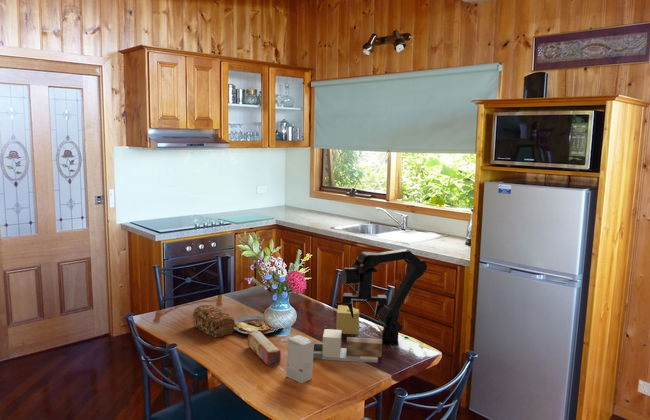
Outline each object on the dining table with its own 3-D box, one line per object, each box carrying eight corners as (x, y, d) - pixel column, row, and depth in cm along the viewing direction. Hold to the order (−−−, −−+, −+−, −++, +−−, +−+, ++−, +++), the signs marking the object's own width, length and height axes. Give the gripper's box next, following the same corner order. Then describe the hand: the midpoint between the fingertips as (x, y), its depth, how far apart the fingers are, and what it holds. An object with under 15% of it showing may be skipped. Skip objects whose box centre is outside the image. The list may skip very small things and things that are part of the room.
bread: (192, 327, 244) (192, 305, 242) (212, 321, 251) (212, 301, 250) (214, 339, 231) (214, 317, 229) (235, 333, 238) (235, 311, 236)
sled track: (377, 352, 222) (378, 331, 221) (377, 362, 212) (378, 340, 211) (312, 348, 224) (313, 327, 222) (310, 358, 214) (311, 337, 213)
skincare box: (285, 376, 198) (286, 338, 195) (296, 371, 202) (297, 333, 200) (302, 384, 192) (303, 344, 190) (313, 378, 197) (314, 339, 195)
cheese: (359, 326, 250) (360, 306, 249) (358, 335, 240) (359, 314, 238) (336, 325, 251) (337, 304, 250) (335, 334, 241) (335, 312, 239)
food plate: (294, 329, 245) (294, 321, 244) (253, 342, 228) (253, 334, 228) (260, 316, 262) (260, 309, 262) (220, 327, 246) (219, 320, 245)
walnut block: (381, 351, 219) (381, 338, 218) (381, 356, 214) (382, 343, 213) (346, 349, 220) (347, 336, 219) (346, 354, 215) (346, 341, 214)
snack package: (282, 364, 208) (282, 348, 207) (266, 367, 205) (266, 351, 204) (261, 344, 227) (261, 329, 226) (246, 347, 223) (246, 331, 222)
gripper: (387, 278, 232) (385, 313, 234) (343, 276, 233) (342, 311, 235) (388, 285, 221) (386, 322, 223) (342, 283, 222) (341, 319, 224)
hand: (363, 318), depth 226 cm, fingers open, 9 cm apart
